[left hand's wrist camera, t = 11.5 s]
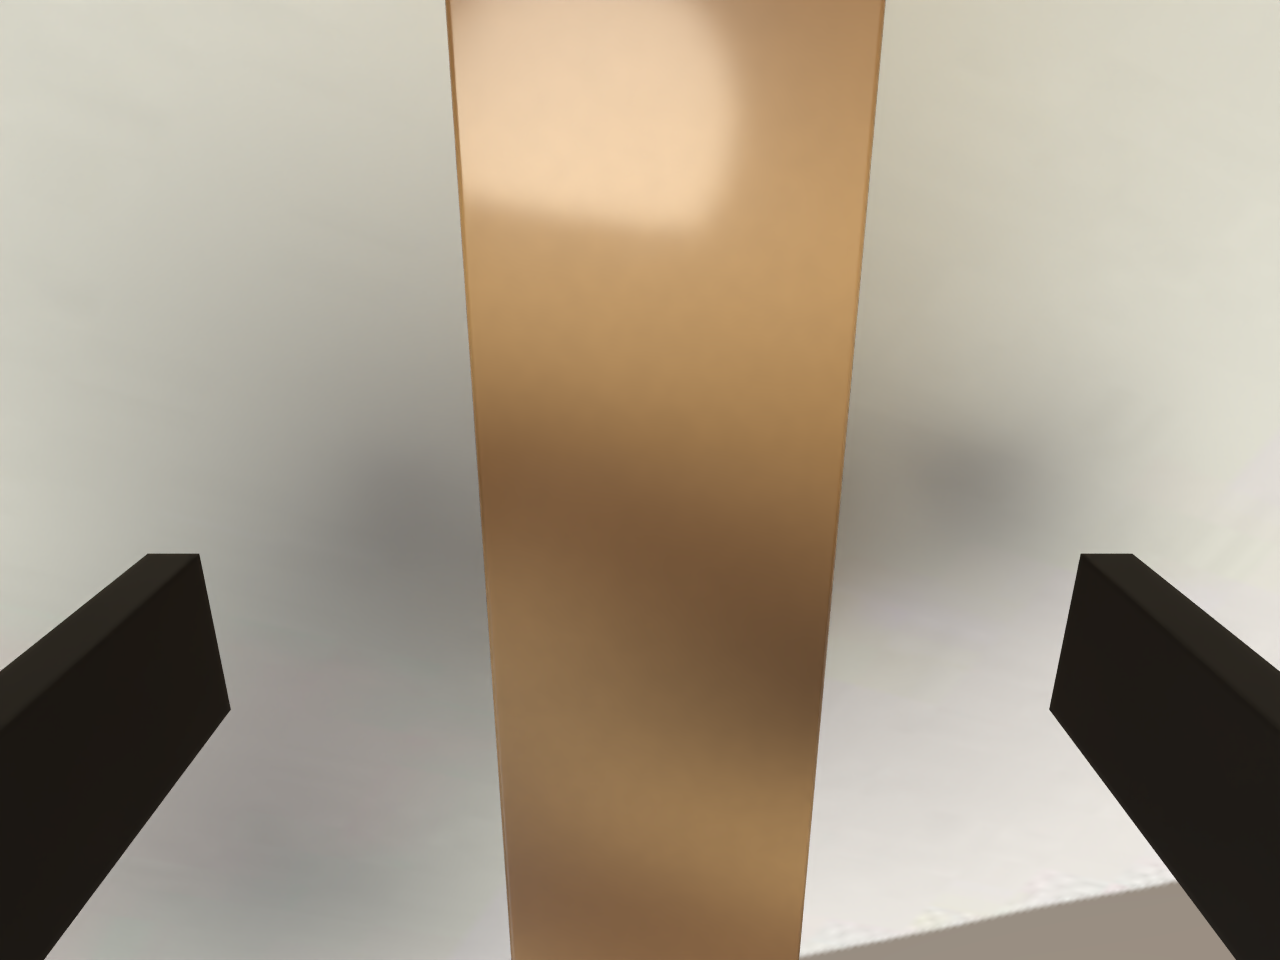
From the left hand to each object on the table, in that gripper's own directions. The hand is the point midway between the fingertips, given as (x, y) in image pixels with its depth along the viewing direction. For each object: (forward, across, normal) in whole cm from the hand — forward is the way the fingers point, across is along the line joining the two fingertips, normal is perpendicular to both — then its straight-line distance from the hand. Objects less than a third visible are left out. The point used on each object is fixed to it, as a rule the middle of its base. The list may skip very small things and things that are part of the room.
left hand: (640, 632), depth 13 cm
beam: (+9, 0, -26) cm, 28 cm away
